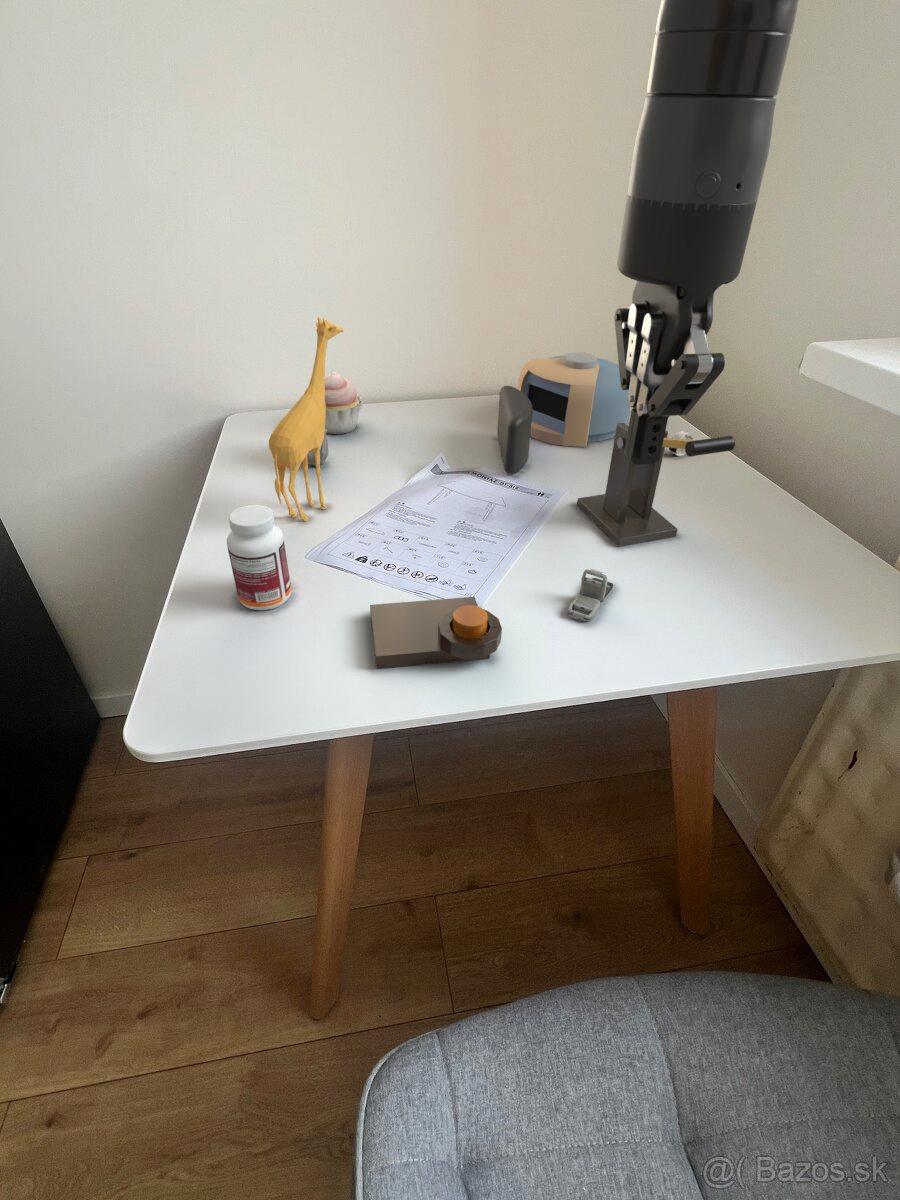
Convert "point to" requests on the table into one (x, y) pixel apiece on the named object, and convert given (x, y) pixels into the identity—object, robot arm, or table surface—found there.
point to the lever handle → (701, 445)
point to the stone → (322, 452)
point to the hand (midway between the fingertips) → (640, 459)
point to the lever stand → (628, 499)
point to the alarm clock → (574, 398)
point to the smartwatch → (679, 436)
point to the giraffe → (303, 427)
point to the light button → (470, 621)
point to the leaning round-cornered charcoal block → (514, 428)
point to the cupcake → (340, 404)
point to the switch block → (427, 633)
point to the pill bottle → (258, 558)
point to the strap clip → (590, 596)
